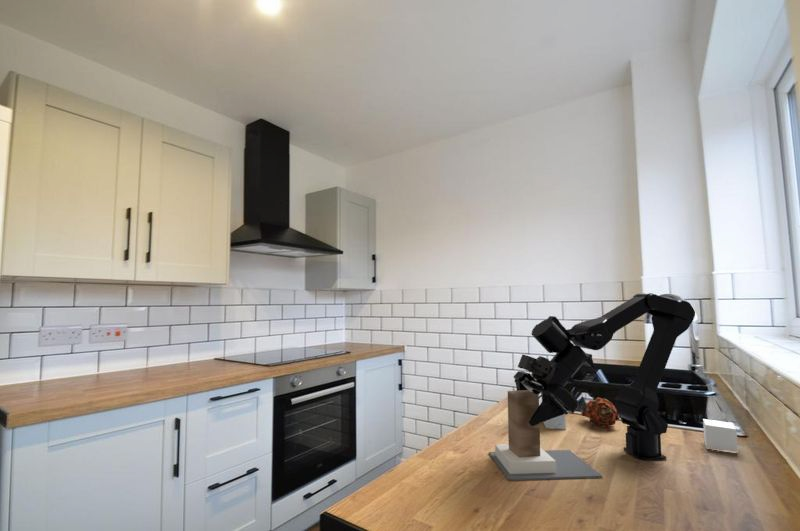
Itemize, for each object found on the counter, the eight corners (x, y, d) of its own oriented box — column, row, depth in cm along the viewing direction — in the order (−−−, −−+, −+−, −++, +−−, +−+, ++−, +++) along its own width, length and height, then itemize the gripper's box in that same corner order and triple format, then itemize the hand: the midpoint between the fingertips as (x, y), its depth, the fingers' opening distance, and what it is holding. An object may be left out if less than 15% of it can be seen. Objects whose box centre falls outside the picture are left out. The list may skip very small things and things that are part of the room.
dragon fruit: (613, 438, 110) (588, 431, 121) (633, 418, 112) (607, 413, 123) (593, 413, 111) (570, 407, 122) (613, 393, 113) (589, 390, 124)
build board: (569, 451, 97) (569, 439, 97) (602, 477, 83) (602, 463, 83) (488, 453, 95) (488, 441, 95) (508, 480, 81) (508, 466, 81)
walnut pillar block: (528, 447, 92) (527, 390, 93) (540, 455, 87) (538, 395, 88) (508, 448, 91) (507, 390, 92) (519, 457, 86) (517, 396, 87)
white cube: (704, 442, 103) (702, 418, 104) (734, 447, 100) (732, 422, 101) (706, 449, 98) (705, 424, 99) (738, 455, 95) (736, 429, 95)
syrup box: (566, 429, 112) (565, 377, 114) (544, 428, 114) (543, 376, 115) (562, 423, 118) (561, 373, 119) (541, 422, 119) (540, 373, 120)
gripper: (519, 338, 101) (479, 384, 98) (563, 347, 82) (515, 404, 80) (549, 368, 102) (510, 415, 99) (598, 384, 83) (552, 442, 80)
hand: (519, 418), depth 89 cm, fingers open, 9 cm apart
